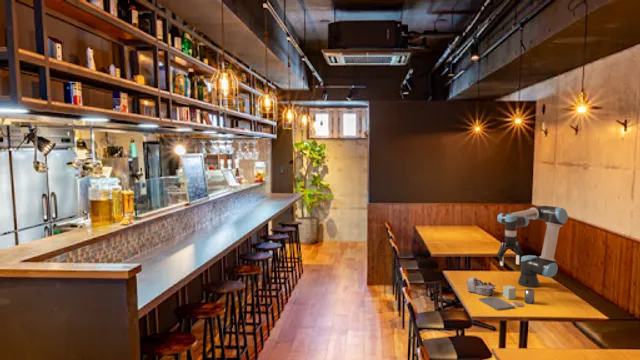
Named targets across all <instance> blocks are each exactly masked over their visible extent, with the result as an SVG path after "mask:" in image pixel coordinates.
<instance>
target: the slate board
mask: <svg viewBox="0 0 640 360" xmlns="http://www.w3.org/2000/svg"><path fill="white" fill-rule="evenodd" d="M478 300H479V301H480V302H481V303H483V304H484V305H486V306H489V307H490V308H492V309H494V310H496V311H503V310H504V311H505V310H511V309H516V306H513V305H511V303H508V302H507V301H505V300H503V299H501V298H500V297H497V296H489V297H488V296H487V297H481V298H480V297H479V298H478Z"/></svg>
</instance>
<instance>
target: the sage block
mask: <svg viewBox="0 0 640 360" xmlns="http://www.w3.org/2000/svg"><path fill="white" fill-rule="evenodd" d="M516 296H517V289H516V287H514V286H512V285H503V286H502V297H503V298H505V300H506V299H507V300H515V299H517V297H516Z"/></svg>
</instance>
